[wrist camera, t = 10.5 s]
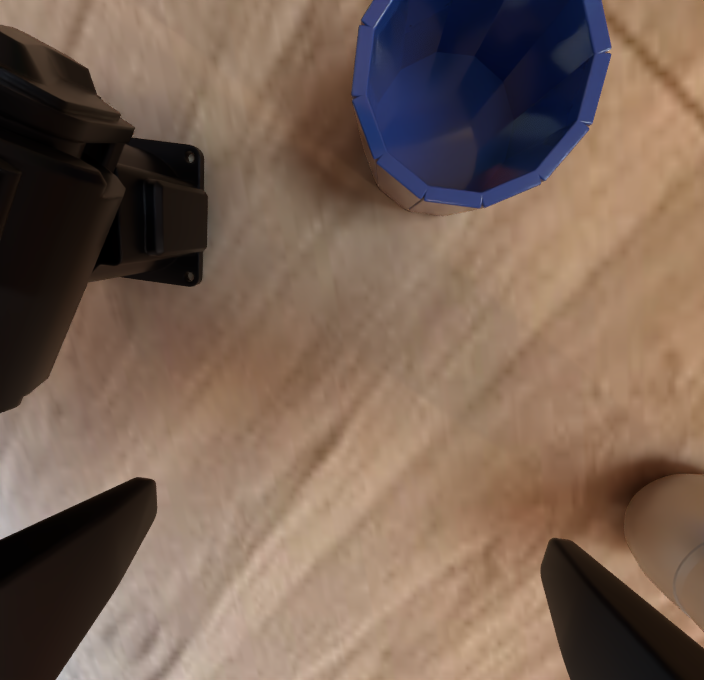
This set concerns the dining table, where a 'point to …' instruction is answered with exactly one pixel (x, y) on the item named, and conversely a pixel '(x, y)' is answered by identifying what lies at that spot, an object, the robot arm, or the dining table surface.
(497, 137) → the mug
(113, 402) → the dining table surface
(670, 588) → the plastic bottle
